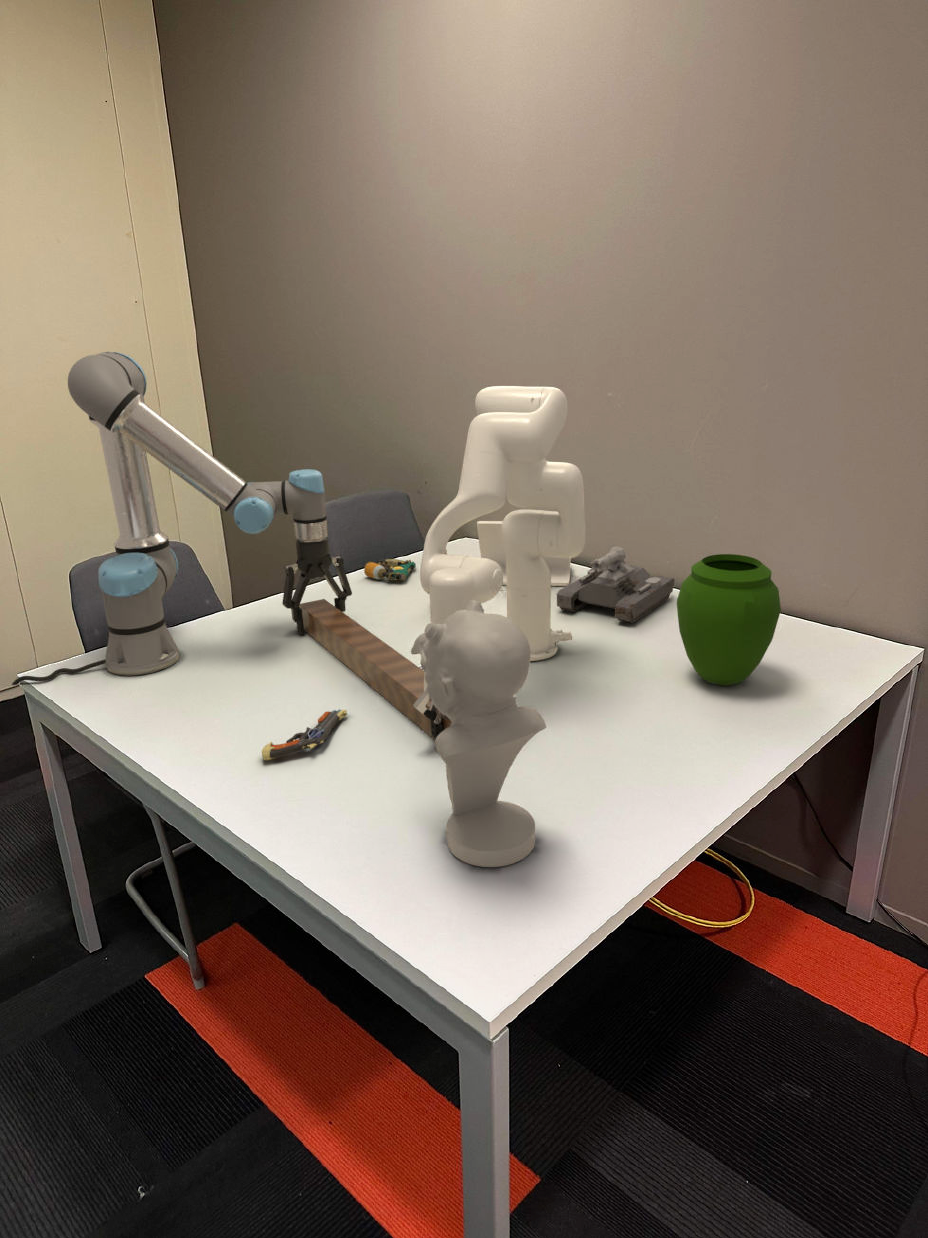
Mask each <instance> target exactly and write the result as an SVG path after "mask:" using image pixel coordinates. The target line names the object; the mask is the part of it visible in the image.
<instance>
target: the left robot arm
mask: <svg viewBox="0 0 928 1238" xmlns="http://www.w3.org/2000/svg"><path fill="white" fill-rule="evenodd" d="M147 383H148V382H147V377H146V373H145V372H144V369H143V368H142V366H141V365H140V364H139V363H138V361H136V360H135V359H134V358H133V357H131V356H129V355H127V354H125V353H122V352H117V351H104V352H99V353H95V354H92V355H86V356H83V357H81V358H80V359H78V360H77V361H76V362H75V363H74V364H73V365H72V366H71V368H70V370H69V372H68V376H67V388H68V391H69V392H68V393H69V395H70V397H71V398H72V401H73V402H74V403H75V404H76V405H77V407H78V408H80V409H81V411H83V412H84V413H85V414H87V415H88V420H89V422H90V423H91V424H93V425H94V426H96V427H97V428H98V431H99V435H100V441H101V446H102V451H103V457H104V461H105V467H106V471H107V476H108V482H109V487H110V493H111V498H112V503H113V508H114V512H115V518H116V523H117V528H118V533H119V536H118V538H117V539H116V541H115V542H114V544H113V545H114V549H115V554H116V555H115V556H114V557H109V558H108V559H106V560H105V561H103V562H102V563H101V564H100V566H99V568H98V570H97V571H98V586H99V589H100V593H101V597H102V603H103V608H104V614H105V618H106V624H107V629H108V634H109V635H108V639H107V646H106V652H105V658H103V659H101V660H98V661H95V662H91V663H89V664H86V665H83V666H80V667H77V668H68V667H62V668H58V669H55V670H54V671H53V672H52V673H50V674H49V675H46V676H33V675H22V676H20V677H17V678H16V679H15V680H13V682H12V684H11V686H17V685H18V684H20V683H21V682H24V681H33V682H47V681H50V680H52V679H54V678H55V677H56V676H57V675H59V674H62V673H63V674H64V673H67V674H78V673H81V672H84V671H87V670H90V669H92V668H95V667H99V666H103V665H105V668H106V670H107V671H108V672H109V673H111V674H114V675H119V676H140V675H147V674H153V673H156V672H158V671H162V670H165V669H167V668H169V667H171V666H172V665H175V664H176V663H177V661H178V660H179V659H180V651H179V647H178V645H177V643H176V641H175V639H174V638H173V635H172V634H171V632H170V630H169V629H168V627H167V625H166V619H165V613H164V612H165V611H164V606H163V600H162V599H163V597H164V596H165V595H166V593H167V592H168V591H169V589H171V587H172V586H173V584H174V583H175V582H176V579H177V576H178V573H179V561H178V558H177V555H176V553H175V552H174V550H173V549H172V548H171V546H170V545H171V544H170V541H169V540H170V539H169V536H168V535H167V534H165V533H164V532H162V531H161V529H160V523H159V519H158V518H159V517H158V512H157V505H156V501H155V496H154V490H153V485H152V479H151V473H150V468H149V461H148V456H147V454H149V456H151V457H152V458H153V459H155V460H156V461H158V462H159V463H161V464H162V465H163V466H164V467H166V468H167V469H168V470H170V471H171V472H172V473H174V474H175V475H177V476H178V477H179V478H181V480H183V481H185V482H186V483H187V484H189V486H190V487H192V488H194V489H195V490H196V491H198V492H199V493H201V494H202V495H203V496H205V497H206V498H207V499H209V500H210V501H211V502H213V503H214V504H215V505H216V506H218V507H219V508H220V509H222V510H223V511H224V512H226V513H227V514H228V515H230V516H231V517H232V518H233V519H234V523H235V524H236V526H237V527H238V528H239V529H240V530H241V531H242V532H244V533H246V534H250V535H256V534H257V535H258V534H260V533H263V532H264V531H265V530H266V529H268V527H270V526H271V524H272V523H273V520H274V516H282V515H283V516H285V515H287V516H288V515H292V517H293V520H292V521H293V528H294V537H295V539H296V540H295V548H296V556H297V559H296V561H295V563H294V564H290V565H289V564H284V571H285V581H284V588H283V594H282V603H281V604H282V606H283V607H284V608H286V609H290V612H291V619H292V621H293V622H294V623H296V632H297V633H298V634H299V635H300V636H305V630H304V625H303V615H302V609H301V608H300V607H299V605H300V604H301V602H302V600H303V597H304V594H305V591H306V589H307V587H308V584H309V583H310V581H311V580H313V579H316V578H323V577H324V579H325V580H326V582H327V584H328V585H329V587H330V588H331V590H332V591H333V593H334V594H335V596H336V597H335V598H333V601H334V606H335V607H336V608H337V609H339V610H340V611H342V612H343V613H344V612H346V610H347V609H346V600H347V598H348V597H351V596H352V595H353V590H352V588H351V585H350V582H349V579H348V575H347V573H346V571H345V568H344V563H345V561H344V558H343V557H341V556H340V555H335V556H331V550H330V540H329V537H328V536H329V527H328V518H327V505H326V503H327V502H326V492H325V491H326V490H325V486H324V478H323V474H322V473H321V471H319V470H316V469H311V468H310V469H296V470H293V471H290V472H289V475H288V480H281V481H280V480H279V481H249V482H247V481H246V480H244V478H242V477H240V476H239V475H237V474H236V473H235V472H234V471H233V470H231V469H230V468H229V467H227V465H225V464H224V463H223V462H221V461H219V460H218V459H217V458H216V457H215V456H213V455H212V454H210V453H209V452H208V451H207V450H206V449H204V448H203V447H202V446H201V445H199V444H198V443H196V442H195V441H194V440H193V439H191V438H190V437H188V436H187V434H185V433H184V432H182V431H181V430H180V429H178V428H177V427H176V426H174V425H173V424H172V423H171V422H170V421H168V420H167V419H166V418H165V417H163V416H161V415H160V414H159V413H157V412H156V411H155V410H154V409H153V408H151V407H150V406H149V405H147V404H146V403H145V394H146V392H147ZM331 565H333V566H334V567H335V570H336V575H337V576H338V579H339V583H340V586H341V587H340V586H339V585H338V583H337V581H336V580H335V578H334V577H333V575H332V574H331V571H330V570H329V568H330V567H331ZM297 570H299V571H300V574H299V577H298V582H297V585H296V586H295V590H294V585H295V580H296V579H295V577H296V576H295V575H296V574H297ZM341 588H342V589H341Z"/></svg>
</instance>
